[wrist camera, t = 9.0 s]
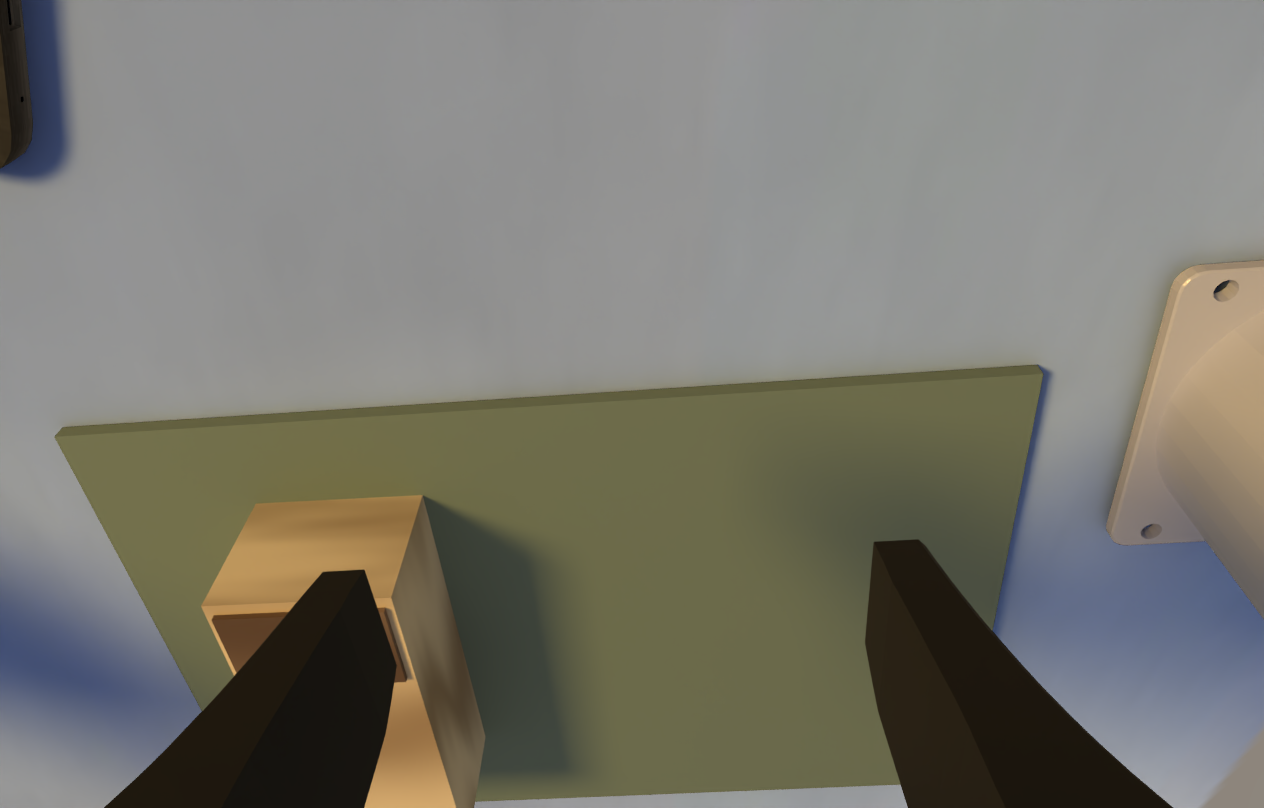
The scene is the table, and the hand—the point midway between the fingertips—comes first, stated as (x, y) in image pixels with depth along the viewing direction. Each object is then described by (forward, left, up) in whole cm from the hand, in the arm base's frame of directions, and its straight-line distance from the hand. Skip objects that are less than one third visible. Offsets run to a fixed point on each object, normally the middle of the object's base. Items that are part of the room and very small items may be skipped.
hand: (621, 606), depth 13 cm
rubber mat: (+3, +11, -9) cm, 14 cm away
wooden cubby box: (+8, +10, -9) cm, 16 cm away
